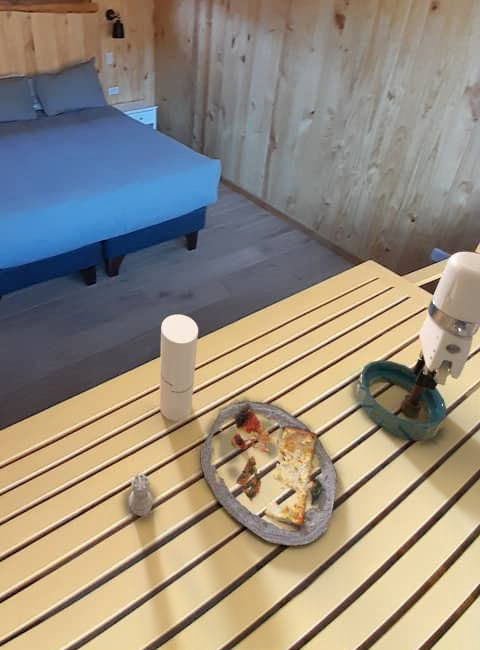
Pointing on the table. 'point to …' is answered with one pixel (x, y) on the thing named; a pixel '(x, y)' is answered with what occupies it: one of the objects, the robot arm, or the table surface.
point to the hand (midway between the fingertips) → (423, 380)
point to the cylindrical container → (177, 366)
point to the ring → (406, 380)
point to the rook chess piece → (140, 495)
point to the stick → (413, 400)
